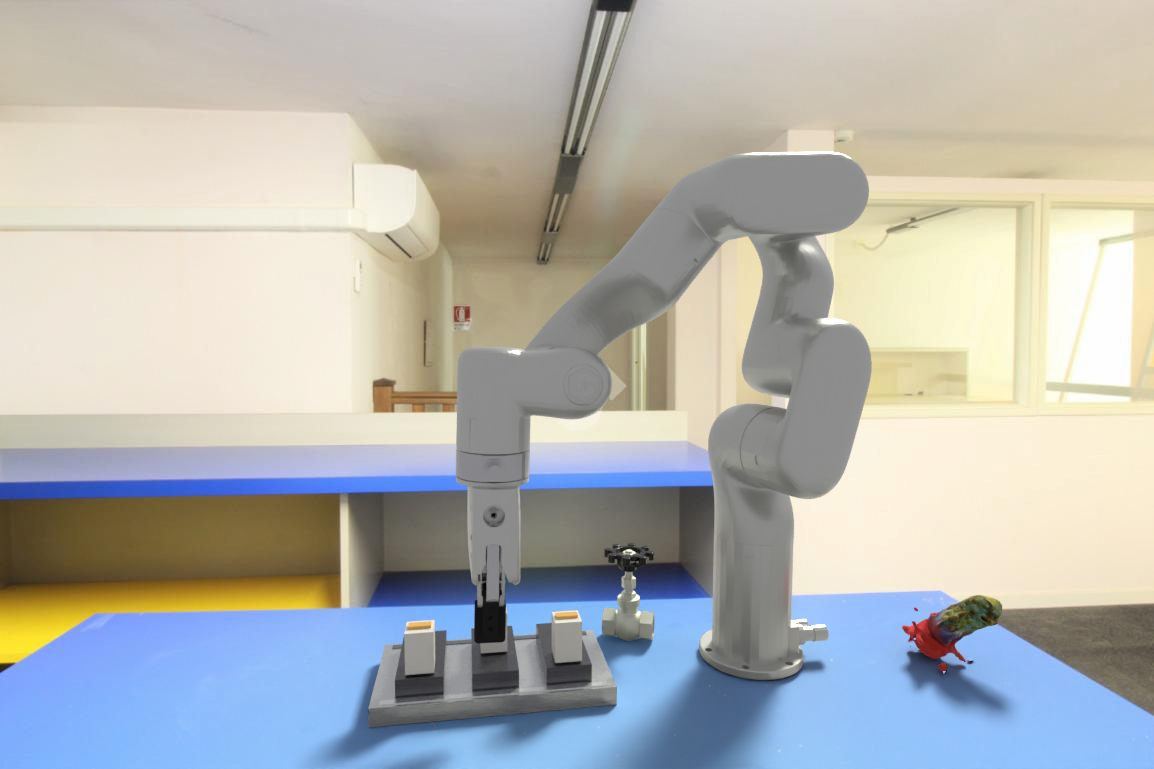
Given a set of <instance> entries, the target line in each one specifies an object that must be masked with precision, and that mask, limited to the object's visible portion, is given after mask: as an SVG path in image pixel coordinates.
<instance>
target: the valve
mask: <svg viewBox="0 0 1154 769" xmlns="http://www.w3.org/2000/svg"><path fill="white" fill-rule="evenodd" d="M611 545H612V546H611V547H606V548H604V549H603V557H604V558H607V562H608V563H609V564H615V563H616V564H617V567H618V569H619V570H621V571H623V572H624V575H623V576H621V588H622V589H623V590H622V591H621V592H620V593H619V594H618V595H617V598H616V599H617V600H616V602H617V603H616V604H617V606H618V607H619V609H618V608H615V607H614V608H611V607H604V609H603V612H602V616H601V634H602V635H603V636H608V637H609V636H610V637H617V638H618V639H621V640H623V641H627V642H630V641H635V640H637V639H639V640H641V639H642V640H648V641H649V640H650V641H653V639H654V637H655V636H654V635H655V622H656V620H655V618H656V617H655V612H654V611H647V610H639V609H638V608H639V607H640V604H641V599H640V598H641V597H640V595H639V594H637V593H636V591H635V590H634V589H636V588H637V578H636V577H635V576H634V575H633V574H634V572H637V569H639V568H642V567H644V566H645V565H647V564H648V560H649V561H650V562H651V561H654V560H655V552H654V550H650V546H649V545H641V546H636V543H634V542H628V543H627V544H626V545H621V544H620V543H613V544H611ZM647 558H648V560H647Z"/></svg>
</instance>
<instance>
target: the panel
mask: <svg viewBox="0 0 1154 769" xmlns="http://www.w3.org/2000/svg"><path fill="white" fill-rule="evenodd" d="M470 632H471V638H463V639H462V638H460V639H449V640H447V630H444V629H443V630H435V668H434V673H426V674H414V675H405V647H404V637H403V638H402V643H395V644H394V643H393V644H385V645H384V646H383V651H382V656H381V659H380V663H379V666H378V667H379V668H378V670H377V674H376V677H375V678H376V679H375V682H374V686H373V689H372V694H371V697H370V701H369V705H368V728H376V727H377V728H379V727H389V726H399V725H412V724H420V723H432V722H442V721H454V720H465V719H474V718H475V719H476V718H485V717H488V718H489V717H496V716H499V717H500V716H507V715H518V714H529V713H531V714H532V713H539V712H552V711H559V710H560V711H561V710H562V711H563V710H574V709H583V708H585V709H586V708H594V707H595V708H596V707H606V706H615V705H618V702H617V701H618V686H617V684H616V681H615V679H614V677H613V675H612V672H611V670H610V667H609V665H608V663H607V660H606V658H605V655H604V653H603V651H602V649H601V647H600V644H599V641H598V639H597V637H596V635H595V633H594V632H595V631H594V630H593V629H587V630H582V661H576V662H563V663H555V661H554V657H553V653H552V622H546V623H535V633H531V634H518V635H516V634H515V635H514V629H513V626H512V625H507V652H494V653H481V648H480V643H475V641H474V627H472V628H471V631H470Z"/></svg>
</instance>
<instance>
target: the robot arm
mask: <svg viewBox="0 0 1154 769" xmlns="http://www.w3.org/2000/svg"><path fill="white" fill-rule="evenodd" d="M869 196H870V187H869V181H868V178H867V175H866V173H865V171H864V169H863V168H862V166H861V165H860V164H859V163H858V162H857V161H855V160H854V159H853V158H852V157H851V156H848V155H847V154H844V153H840V152H837V151H836V152H834V151H796V152H795V151H780V152H779V151H778V152H777V151H774V152H773V151H772V152H769V151H768V152H765V151H764V152H761V151H760V152H759V151H758V152H747V153H746V152H745V153H737V154H732V155H729V156H728V157H727V156H726V157H725V158H722V159H719V160H717V161H715V162H712V163H709V164H707V165H704V166H702V167H700V168H698V169H696V170H692V171H691V172H689V173H687V174H685V175H684V176H683V177H682V178H680V179H679V180H678V182H676V183H675V184H674V185H673V187H671V189H670V190H669V191H668V192H667V194H666V195H665V196H664V197H663V198H662V200H661V201H660V202H659V203H658V204H657V206H656V207H655V208H654V209H653V210H652V211H651V213H650V214H649V215H648V216H647V218H646V219H645V220H644V222H642V224H641V225H640V226H639V227H638V229H637V230H636V231H635V232H634V233H633V235H632V236H631V237H630V238H629V239H628V241H627V242H626V243H625V244H624V245H623V247H621V249H620V250H619V251H618V253H616V255H614V257H613V258H612V259H611V260H610V261H609V262H608V263H607V264H606V265H604V266H603V268H601V269H599V271H598V272H597V273H595V275H594V276H593V277H591V279H589V281H587V282H586V283H585V284H584V285H583V286H582V287H581V288H580V289H579V290H577V292H575V293H574V294H573V295H572V296H571V297H570V298H569V299H567V300H566V301H565V302H564V304H562V305H561V306H560V308H558V309H557V310H556V311H555V312H554V314H553V315H552V316H551V317H550V318H549V319H548V320H547V322H545V323H544V325H543V326H542V327H541V329H540V330H539V331H538V332H537V333H536V335H535V336H534V337H533V338H532V340H530V342H529V343H528V344H527V345H526V347H525V348H524V349H522V348H518V347H509V346H471V347H467V348H464V349H463V350H462V351H461V353H460V354H459V356H458V359H457V368H456V369H457V372H456V373H457V374H456V375H457V378H456V379H457V381H456V382H457V383H456V384H457V385H456V434H455V435H456V442H455V443H456V445H455V446H456V447H455V448H456V449H455V459H456V460H455V482H456V483H457V484H459V485H462V486H465V487H467V502H466V503H467V507H466V508H467V509H466V510H467V512H466V513H467V517H466V518H467V521H466V522H467V546H468V547H467V548H468V549H467V550H468V558H469V559H468V560H469V570H470V576H471V577H470V578H471V583H472V584H473V585H474V586H476V599H475V600H474V614H473V615H474V616H473V617H474V621H473V622H474V623H473V624H474V625H473V628H474V641H475V643H498V642H504V641H505V634H506V608H507V603H505V602H506V598H505V597H506V594H505V592H506V590H505V589H506V579H507V581H508V583H509V584H513V585H514V586H517V585H518V584H519V583H520V582H521V495H520V486H524V485H526V484H528V483H529V482H530V459H531V458H530V456H531V455H530V454H531V453H530V449H531V448H530V447H531V418H532V416H538V417H545V418H546V417H548V418H554V419H555V418H556V419H563V420H580V419H585V418H588V417H590V416H592V415H594V414H596V413H597V412H599V411H600V410H601V409H602V408H603V407H605V405H606V403H607V402H608V400H609V399H610V395H611V393H612V389H613V378H612V375H611V372H610V369H609V367H608V366H607V363H606V362H604V360H603V359H602V358H601V357H600V356H599V355H600V354H601V353H602V352H603V351H604V350H606V348H607V347H608V346H610V345H611V344H612V343H614V341H616V340H618V339H619V338H620V337H622V336H623V335H625V334H627V333H628V332H631V331H632V330H634V329H636V328H638V327H641V326H643V325H645V324H647V323H649V322H651V321H653V320H656V319H657V318H659V317H660V316H661V315H663V314H664V313H667V311H669V310H670V309H672V308H673V307H674V306H675V305H676V304H677V303H678V301H679V300H680V298H682V296H683V294H684V293H686V291H687V289H688V288H690V286H691V285H692V283H693V282H694V281H695V279H696V278H697V276H699V274H700V273H701V272H702V270H703V269H704V268H705V267H706V265H707V264H708V263H709V261H711V259H712V258H713V257H714V256H715V254H716V253H717V252H718V251H719V250H720V248H721V247H722V246H723V245H724V244H725V243H726V242H728V241H730V240H737V239H740V238H745V237H746V238H747V237H748V239H749V241H750V242H751V244H752V245H753V247H754V249H755V250H756V253H757V255H758V258H759V260H760V261H759V262H760V265H761V270H762V277H761V279H762V280H761V286H760V291H759V296H758V300H757V304H756V307H755V311H754V315H753V318H752V321H751V324H750V329H749V332H748V335H747V339H746V343H745V347H744V349H743V350H744V351H743V355H742V360H741V373H742V377H743V379H744V382H746V384H747V385H748V386H749V387H750V388H751V389H753V390H755V391H757V392H758V393H761V394H765V395H768V396H774V397H780V398H784V399H785V398H786V399H788V402H787V407H786V408H784V407H779V406H772V405H766V404H761V403H760V404H759V403H743V404H736V405H732V406H731V407H729V408H727V409H725V410H724V411H722V412H721V413H720V414H719V415H718V416H717V417H716V418H715V420H714V421H713V423H712V425H711V428H710V430H709V434H708V439H707V444H708V445H707V453H708V461H709V467H710V472H711V477H712V478H711V479H712V485H713V487H712V488H713V497H714V498H713V501H714V502H713V503H714V518H713V520H714V522H713V523H714V528H713V573H712V578H713V579H712V617H711V618H712V619H711V620H712V621H711V622H712V624H711V629H709V630H708V631H706V632H704V633H703V635H702V636H700V639H699V646H698V648H699V654H700V655H701V657H702V658H703V660H704V661H706V663H707V664H709V665H710V666H712V667H713V668H714V669H717V670H719V671H721V672H723V673H725V674H728V675H731V676H734V677H738V678H742V679H746V680H747V679H749V680H755V681H756V680H758V681H759V680H760V681H768V680H769V681H771V680H774V681H775V680H781V679H785V678H787V677H790V676H792V675H794V674H795V675H796V673H798V672H799V671H800V670H801V669H802V667H803V665H804V658H805V657H804V656H805V655H804V651H803V649H802V647H801V646H803V645H804V646H805V643H806V642H824V641H828V639H829V630H828V628H827V626H826V625H825V624H824V623H823V624H811V625H809V623H808V620H807V619H806V618H799V619H798V618H797V619H792V610H793V609H792V605H793V604H792V603H793V578H794V577H793V570H794V569H793V568H794V543H795V542H794V540H795V518H794V511H793V510H794V509H793V508H794V507H793V505H792V504H793V503H792V501H791V497H793V498H796V499H800V500H801V499H802V500H812V499H813V500H814V499H819V498H822V497H823V496H826V495H827V494H829V493H830V492H832V490H834V488H835V487H836V486H837V485H838V483H839V482H840V480H841V479H842V477H843V475H844V473H845V470H846V468H847V466H848V463H849V459H850V457H851V453H852V450H853V446H854V443H855V439H856V437H857V436H856V435H857V431H858V429H859V424H860V420H861V417H862V413H863V410H864V406H865V403H866V399H867V395H868V392H869V388H870V387H869V386H870V383H871V377H872V368H873V367H872V355H871V350H870V346H869V342H868V340H867V339H866V336H865V334H864V333H862V331H861V330H860V329H859V328H858V327H857V326H856V325H855V324H852V323H850V322H848V321H847V320H843V319H839V318H832V317H829V314H830V309H831V303H832V300H833V295H834V288H835V281H834V280H835V279H834V273H833V269H832V268H833V267H832V266H831V263H830V260H829V258H828V257H827V255H826V253H825V250H824V249H823V248H822V245H821V244H820V242H819V240H818V238H817V237H818V236H822V235H828V234H833V233H838V232H841V231H843V230H845V229H847V228H849V227H851V226H852V225H853V224H855V223H856V222H857V221H858V219H859V218H860V217H861V216H862V215H863V213H864V212H865V209H866V208H867V204H868V200H869Z"/></svg>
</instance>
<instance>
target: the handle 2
mask: <svg viewBox="0 0 1154 769" xmlns="http://www.w3.org/2000/svg"><path fill="white" fill-rule="evenodd" d="M551 623H552V653H553V657H554V661H555V663H563V662H576V661H582V631H583V620H582V618H581V615H580V612H579V610H577V609H576V610H561V611H552V612H551Z"/></svg>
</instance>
